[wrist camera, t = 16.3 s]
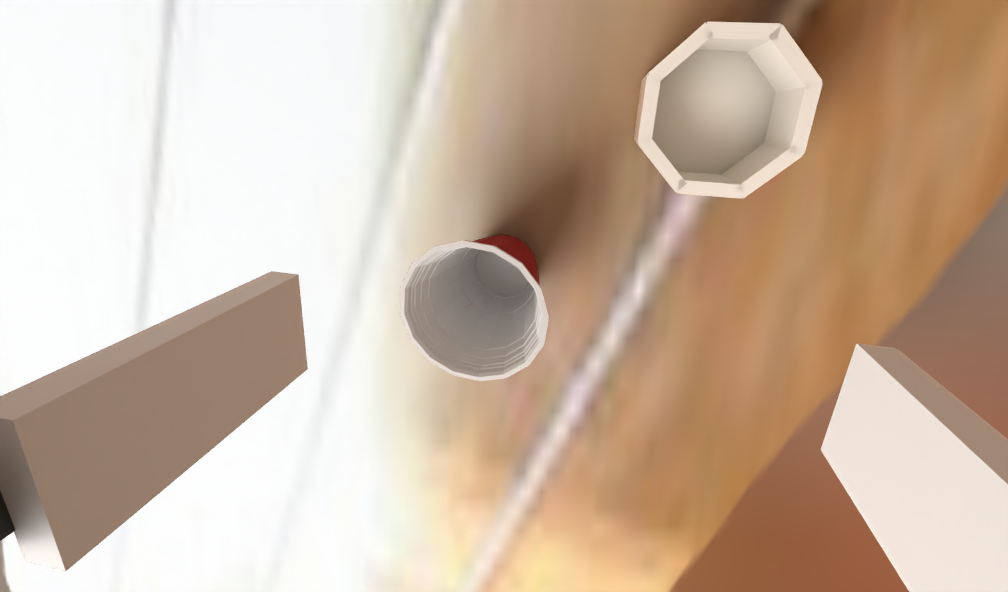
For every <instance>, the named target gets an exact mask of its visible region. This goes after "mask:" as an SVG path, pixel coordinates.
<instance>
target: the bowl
mask: <svg viewBox="0 0 1008 592" xmlns="http://www.w3.org/2000/svg"><path fill="white" fill-rule="evenodd" d="M822 84H823V82H822V79H821V78H820V76H819V75H818V74H817V72H816V71H815V69H814V68H813V66H812V65H811V64H810V62H809V61H808V59H807V58H806V57H805V55H804V54H803V52H802V51H801V50H800V48H799V47H798V45H797V44H796V43H795V41H794V40H793V38H792V37H791V36H790V34H789V33H788V31H787V30H786V28H785V27H784V26H783V24H782V25H781V23H743V22H705V23H704V24H703V25H702V26H701V27H700V28H698V29H697V30H696V31H695V32H694V33H693V34H692V35H691V36H689V37H688V38H687V39H686V40H685V41H684V42H683V43H681V44H680V45H679V46H678V47H677V48H676V49H675V50H674V51H672V52H671V53H670V54H669V55H668V56H667V57H666V58H665V59H663V60H662V61H661V62H660V63H659V64H658V65H657V66H656V67H654V68H653V69H652V70H651V71H650V72H649V73H648V74H647V75H646V76H645V77H644V78H643V80H642V83H641V90H640V97H639V104H638V110H637V119H636V126H635V133H634V141H635V142H636V143H637V145H638V146H639V147H640V148H641V150H642V151H643V152H644V153H645V155H646V156H647V157H648V159H649V160H650V161H651V162H652V164H653V165H654V166H655V167H656V169H657V170H658V171H659V172H660V174H661V175H662V176H663V178H664V179H665V180H666V181H667V183H668V184H669V185H670V186H671V187H672V189H673V190H674V191H675V192H676V193H680V194H692V195H704V196H716V197H729V198H741V199H742V197H743V198H745V197H746V196H747V195H749V194H750V193H752V192H753V191H754V190H756V189H757V188H759V187H760V186H761V185H763V184H764V183H766V182H767V181H768V180H770V179H771V178H773V177H774V176H775V175H777V174H778V173H780V172H781V171H782V170H784V169H785V168H787V167H788V166H789V165H791V164H792V163H794V162H795V161H796V160H798V159H799V158H801V157H802V156H803V154H805V150H806V146H807V142H808V138H809V134H810V131H811V127H812V123H813V119H814V115H815V111H816V107H817V103H818V100H819V96H820V92H821V88H822Z"/></svg>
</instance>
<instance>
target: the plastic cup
mask: <svg viewBox="0 0 1008 592" xmlns="http://www.w3.org/2000/svg"><path fill="white" fill-rule="evenodd" d="M400 315H401V318H402V320H403V323H404V326H405V328H406V331H407V334H408V336H409V339H410V340H411V341H412V342H413V343H414V345H415V346H416V347H417V348H418V349H419V350H420V352H421V353H422V354H423V355H424V356H425V357H426V359H427V360H428V361H430V362H432V363H433V364H435V365H437V366H438V367H440V368H442V369H443V370H445V371H446V372H448V373H450V374H451V375H455V376H459V377H463V378H468V379H472V380H476V381H485V380H494V379H502V378H507V377H509V376H511V375H512V374H514V373H516V372H518V371H520V370H522V369H523V368H525V367H527V366H529V365H530V363H531V362H532V360H533V359H534V358H535V356H536V355H537V354H538V352H539V351H540V350H541V348H542V347H543V345H544V342H545V337H546V331H547V325H548V320H549V316H548V313H547V309H546V305H545V301H544V297H543V294H542V290H541V287H540V285H539V275H538V271H537V265H536V261H535V257H534V254H533V253H532V252H531V250H530V249H529V247H528V246H527V245H526V244H525V243H523V242H522V241H520V240H519V239H517V238H515V237H512V236H506V235H498V236H492V237H487V238H483V239H479V240H475V241H467V240H464V241H459V242H454V243H449V244H445V245H440V246H435V247H433V248H432V249H430V250H429V251H428V252H426V253H425V254H424V255H422V256H421V257H420V258H418V259H417V260H416V261H414V262H413V263H412V264H411V266H410V268H409V270H408V272H407V274H406V276H405V278H404V280H403V282H402V284H401V286H400Z"/></svg>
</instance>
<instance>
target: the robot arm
mask: <svg viewBox="0 0 1008 592" xmlns="http://www.w3.org/2000/svg"><path fill="white" fill-rule="evenodd" d="M307 369H308V368H307V358H306V348H305V338H304V328H303V318H302V307H301V297H300V287H299V277H298V275H297V274H288V273H280V272H272V271H271V272H269V273H267V274H265V275H263V276H261V277H258V278H256V279H254V280H252V281H250V282H248V283H245V284H243V285H241V286H239V287H237V288H235V289H232V290H230V291H228V292H226V293H224V294H222V295H219V296H217V297H215V298H213V299H211V300H209V301H206V302H204V303H202V304H200V305H198V306H196V307H193V308H191V309H189V310H187V311H185V312H183V313H180V314H178V315H176V316H174V317H172V318H170V319H167V320H165V321H163V322H161V323H159V324H157V325H154V326H152V327H150V328H148V329H146V330H144V331H141V332H139V333H137V334H135V335H133V336H131V337H128V338H126V339H124V340H122V341H120V342H118V343H115V344H113V345H111V346H109V347H107V348H105V349H102V350H100V351H98V352H96V353H94V354H92V355H89V356H87V357H85V358H83V359H81V360H79V361H76V362H74V363H72V364H70V365H68V366H66V367H63V368H61V369H59V370H57V371H55V372H53V373H50V374H48V375H46V376H44V377H42V378H40V379H37V380H35V381H33V382H31V383H29V384H27V385H24V386H22V387H20V388H18V389H16V390H13V391H11V392H9V393H7V394H5V395H3V396H0V541H1V540H2V539H4V538H5V537H6V536H8V535H9V534H11V533H12V532H14V533H15V535H16V538H17V541H18V543H19V546H20V548H21V551H22V554H23V556H24V559H25V561H27V562H31V563H35V564H39V565H43V566H47V567H51V568H55V569H59V570H63V571H67V570H68V569H69V568H70V567H71V566H73V565H74V564H75V563H76V562H77V561H79V560H80V559H81V558H82V557H83V556H85V555H86V554H87V553H88V552H89V551H91V550H92V549H93V548H94V547H95V546H97V545H98V544H99V543H100V542H101V541H103V540H104V539H105V538H106V537H107V536H109V535H110V534H111V533H112V532H113V531H114V530H116V529H117V528H118V527H119V526H120V525H122V524H123V523H124V522H125V521H126V520H128V519H129V518H130V517H131V516H132V515H134V514H135V513H136V512H137V511H138V510H140V509H141V508H142V507H143V506H144V505H146V504H147V503H148V502H149V501H150V500H152V499H153V498H154V497H155V496H156V495H158V494H159V493H160V492H161V491H162V490H163V489H165V488H166V487H167V486H168V485H169V484H171V483H172V482H173V481H174V480H175V479H177V478H178V477H179V476H180V475H181V474H183V473H184V472H185V471H186V470H187V469H189V468H190V467H191V466H192V465H193V464H195V463H196V462H197V461H198V460H199V459H201V458H202V457H203V456H204V455H205V454H207V453H208V452H209V451H210V450H211V449H212V448H214V447H215V446H216V445H217V444H218V443H220V442H221V441H222V440H223V439H224V438H226V437H227V436H228V435H229V434H230V433H232V432H233V431H234V430H235V429H236V428H238V427H239V426H240V425H241V424H242V423H244V422H245V421H246V420H247V419H248V418H250V417H251V416H252V415H253V414H254V413H256V412H257V411H258V410H259V409H260V408H261V407H263V406H264V405H265V404H266V403H267V402H269V401H270V400H271V399H272V398H273V397H275V396H276V395H277V394H278V393H279V392H281V391H282V390H283V389H284V388H285V387H287V386H288V385H289V384H290V383H291V382H293V381H294V380H295V379H296V378H297V377H299V376H300V375H301V374H302V373H303V372H305V371H306V370H307ZM821 451H822V453H823V454H824V456H825V457H826V459H827V461H828V462H829V464H830V465H831V467H832V469H833V470H834V472H835V473H836V475H837V477H838V478H839V480H840V481H841V483H842V485H843V486H844V488H845V489H846V491H847V492H848V494H849V496H850V498H851V499H852V501H853V502H854V504H855V506H856V507H857V509H858V510H859V512H860V513H861V515H862V517H863V518H864V520H865V521H866V523H867V525H868V526H869V528H870V530H871V531H872V533H873V534H874V536H875V537H876V539H877V541H878V542H879V544H880V546H881V547H882V549H883V550H884V552H885V553H886V555H887V557H888V558H889V560H890V562H891V563H892V565H893V566H894V568H895V570H896V571H897V573H898V574H899V576H900V578H901V579H902V581H903V582H904V584H905V586H906V587H907V589H908V590H909V592H1008V439H1006V438H1005V437H1004V436H1003V435H1002V434H1000V433H999V432H998V431H997V430H996V429H994V428H993V427H992V426H991V425H989V424H988V423H987V422H986V421H985V420H983V419H982V418H981V417H979V416H978V415H977V414H976V413H975V412H974V411H972V410H971V409H970V408H969V407H967V406H966V405H965V404H964V403H962V402H961V401H960V400H959V399H958V398H956V397H955V396H954V395H953V394H952V393H950V392H949V391H948V390H947V389H946V388H944V387H943V386H942V385H941V384H939V383H938V382H937V381H935V380H934V379H933V378H932V377H931V376H930V375H928V374H927V373H926V372H925V371H923V370H922V369H921V368H920V367H919V366H917V365H916V364H915V363H914V362H912V361H911V360H910V359H909V358H908V357H906V356H905V355H904V354H903V353H902V352H900V351H899V350H898V349H897V348H889V347H882V346H874V345H866V344H858V343H857V344H856V347H855V350H854V353H853V356H852V359H851V362H850V365H849V368H848V371H847V373H846V376H845V379H844V382H843V385H842V388H841V391H840V394H839V397H838V400H837V403H836V406H835V409H834V412H833V415H832V418H831V421H830V424H829V427H828V430H827V433H826V436H825V439H824V442H823V445H822V448H821Z"/></svg>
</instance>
